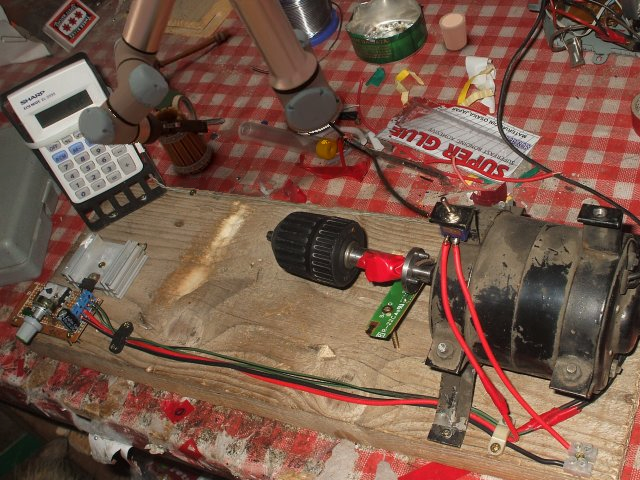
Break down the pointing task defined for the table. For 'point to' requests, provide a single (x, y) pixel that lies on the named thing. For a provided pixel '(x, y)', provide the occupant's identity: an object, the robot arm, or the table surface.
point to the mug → (184, 140)
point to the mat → (168, 99)
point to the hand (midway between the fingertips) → (189, 129)
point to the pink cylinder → (454, 30)
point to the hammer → (191, 50)
